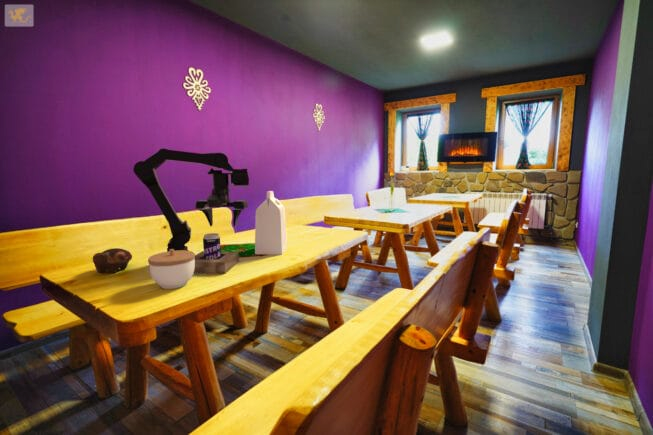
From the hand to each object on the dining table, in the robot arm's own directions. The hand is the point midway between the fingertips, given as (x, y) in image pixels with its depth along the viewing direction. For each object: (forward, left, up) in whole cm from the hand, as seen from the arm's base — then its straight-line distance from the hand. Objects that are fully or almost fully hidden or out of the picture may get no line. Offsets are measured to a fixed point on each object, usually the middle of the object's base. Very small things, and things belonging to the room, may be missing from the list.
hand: (222, 226), depth 118 cm
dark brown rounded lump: (-33, -16, -13) cm, 39 cm away
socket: (0, -11, -13) cm, 17 cm away
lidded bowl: (-5, -28, -13) cm, 32 cm away
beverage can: (0, -11, -13) cm, 17 cm away
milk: (+16, +13, -13) cm, 24 cm away
